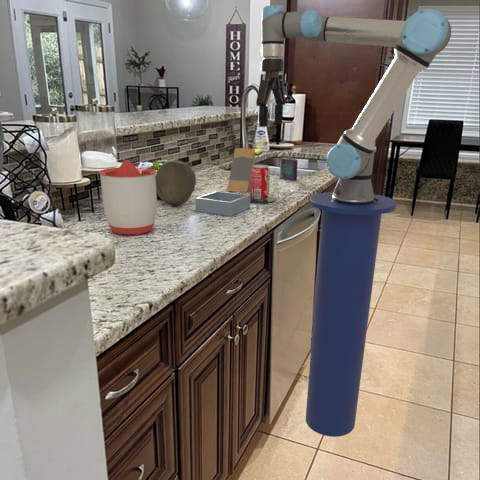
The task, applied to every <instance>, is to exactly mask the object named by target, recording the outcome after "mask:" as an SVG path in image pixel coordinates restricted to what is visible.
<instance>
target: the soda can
mask: <svg viewBox="0 0 480 480" xmlns="http://www.w3.org/2000/svg"><path fill="white" fill-rule="evenodd" d="M270 173H271V172H270V169H269V165H267V164H254V165H253V166H252V169H251V173H250V190H249V195H250V197H251V198H252V199H253V200H258V201H262V200H266V199H267V198H268V197H270V176H271V175H270Z"/></svg>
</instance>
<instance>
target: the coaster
mask: <svg viewBox="0 0 480 480" xmlns="http://www.w3.org/2000/svg"><path fill="white" fill-rule="evenodd" d="M274 202H275V198H273V197H270V196H269V197H268V198H267V199H266V200H262V201H258V200H253V199H252V198H251V197H250V204H270V203H274Z"/></svg>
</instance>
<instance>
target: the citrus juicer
mask: <svg viewBox="0 0 480 480" xmlns="http://www.w3.org/2000/svg"><path fill="white" fill-rule="evenodd" d="M156 173H157V170H156V169H154V168H151V167H147V168H146V169H144V170H143V174H141V172H140V170H138V168H137V167H136V166H135V164H134V163H132V162H131V161H130V160H129V159H125V160H124V161H123V162H122V163H121V165H120V166H119V167H110V168H105V169H104V168H103V169H102V170H99V171H98V174H99V176H100V177H99V179H100V187H101V198H102V207H103V211H104V214H105V218H106V221H107V224H108V226H109V228H110V230H111V232H113V233H114V234H118V235H135V236H140V235H142V234H146V233H148V232H150V231H151V232H152V230H153V228H154V225H155V223H156V222H155V220H156V216H157V211H158V198H157V197H158V194H157V192H156Z"/></svg>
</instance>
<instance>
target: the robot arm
mask: <svg viewBox="0 0 480 480" xmlns="http://www.w3.org/2000/svg"><path fill="white" fill-rule="evenodd" d="M260 23H261V47H260V53H261V58H262V59H261V61H260V71H261V72H264V73H261V74H260V80H259V86H258V92H257V97H256V101H255V104H256V107H259V110H258V112H259V113H258V116H259V117H258V126H259V127H262V128H263V127H264V128H267V127H268V114H269V113H268V106H267V105H268V101H269V98H270V95H271V92H272V94H273V97H274V101H275V104H274V125H283V112H284V111H283V109H284V106H285V105H286V104H287V103H286V95H285V87H284V77H283V74H279V73H280V72H283V71H284V59H283V58H284V57H285V39H304V40H308V41H310V42H317V43H318V42H325V43H326V42H327V43H341V44H350V45H351V44H352V45H365V46H375V47H376V46H377V47H388V48H393V50H394V51H393V53H394V58H393V60H392V61H391V63H390V64H389V66H388V67H387V69H386V70H385V72H384V74H383V76H382V77H381V79H380V80H379V82H378V84H377V86H376V88H375V89H374V91H373V93H372V94H371V95H370V97H369V99H368V100H367V102H366V103H365V105H364V107H363V109H362V110H361V112H360V114H359V115H358V117H357V119H356V120H355V121H354V123H353V125H352V127H351V128H349V129H346V130H344V131H343V133H342V135H341V136H340V138H339V140H338V142H337V143H336V144H335V145H334V146H332V147H331V148H330V150H329V151H328V152H327V155H326V167H327V169H328V171H329V172H330V174H331V175H332V176H333V177H335V178H336V179H338V180H337V183H336V185H335V187H334V190H333V191H332V192H333V195H332V200H333V201H335V202H338V203H343V204H353V205H363V204H370V203H373V202H374V200H375V201H378V199H376V198H375V197H374V194H375V193H374V187H373V183H372V177H373V166H374V159H375V151H376V139H377V138H378V136H379V135H380V133H381V132H382V130H383V129H384V127H385V126H386V123H387V122H388V121H389V119H390V118H391V117H392V114H393V113H394V112H395V110H396V108H397V107H398V105H399V104H400V102H401V101H402V99H403V98H404V96H405V94H406V93H407V92H408V90H409V88H410V87H411V85H412V84H413V82H414V81H415V79H416V77H417V76H418V75H419V73H420V72H421V71H424V70H427V69H428V68H429V67H430V65H431V64H432V62H433V60H434V59H435V58H436V56H437V55H438V54H439V53H441V52H442V51H443V50H444V49H446V47H447V46H448V44H449V43H450V40H451V36H452V28H451V27H452V25H451V23H450V21H449V20H448V18H447V17H446V16H445V14H443V13H442V12H441V11H439V10H437V9H435V8H424V9H420V10H418V11H416V12H415V13H413V14H412V15H411V16H410V17H408V18H407V19H406V20H397V19H395V20H393V19H379V18H377V19H376V18H362V17H361V18H360V17H359V18H358V17H343V16H328V15H327V16H326V15H321V13H320V11H319V10H310V9H307V10H300V11H286V8H285V6H284V5H280V4H275V5H274V4H271V5H270V4H269V5H266V6H264V7H262V10H261V22H260Z"/></svg>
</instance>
